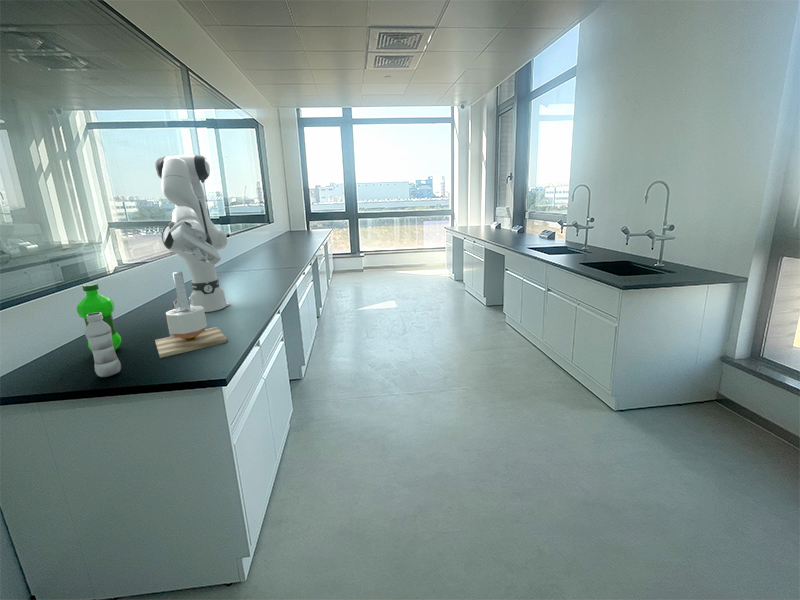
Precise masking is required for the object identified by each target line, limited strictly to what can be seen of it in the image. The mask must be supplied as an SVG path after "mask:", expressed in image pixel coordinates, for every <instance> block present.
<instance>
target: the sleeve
mask: <svg viewBox="0 0 800 600" xmlns="http://www.w3.org/2000/svg"><path fill="white" fill-rule="evenodd" d="M166 317H167V318H166ZM165 318H166V322H167V321H168V324H167V327H168V326H169V329H168V331H169V330H170V333H171V334H186V333H190V332H195V331H199V330H201V329H203V328H204V329H206V327H208V323H207V319H206V312H204V308H203V307H202V306H190V305H189V311H186V312H180V308H175V309H174V308H173V309H170V310H168V311H165Z"/></svg>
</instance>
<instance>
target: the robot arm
mask: <svg viewBox="0 0 800 600" xmlns="http://www.w3.org/2000/svg"><path fill="white" fill-rule="evenodd" d="M154 169H155V172H156V174H157V176H158V178H159V179H160V180H161V191H162V194H163V195H164V197H165V198H166V200H168V201H169V202H170V203H172V204H173V205H175V206H176V207H175V208H174V209H173V211H172V215H171V217H172V218H171V221H170V222H168V224H166V226H165V227H164V228H163V230H162V233H161V240H162V243H163V245H164V247H165V248H166V249H168V250H170V251H171V252H172V253H173V254H175V255H178V257H180V258H181V259H182V260H183V261H184V262H185V263H186V265H187V267H188V270H189V273H190V278H191V288H192V292H191V294H190V296H189V297H188V302H190V305H189V306H202V307H203V308H204V312H205V313H210V312H216V311H220V310H223V309H225V308H226V307H228V306H231V303H230V302H228V301H227V300H226V299H227V298H226V295H225V292H224V289H222V288H221V287H220V281H219V279H218V275H217V269H216V266H215V265H216V264H218V263H219V262H221V260H222V258H221V255H220V254H219V252H218V251H220V250H224V249H225V248H226V247H227V243H228V236H227V234H226V233H225V231H223V229H221V228H219V227H218V226H217V225H215V223H214V222H213V221H212V220H211V218H210V215H209V213H208V207H207V200H206V194H205V189H204V187H203V184H204V183H205V182H206V180H207V179H208V178H209V177H210V172H211V166H210V163H209V161H208V159H207V158H206V157H205V156H204V155H200V154H195V155H193V154H179V155H172V156H161V157H159V158H157V159H156V160H155V162H154Z"/></svg>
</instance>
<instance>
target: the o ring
mask: <svg viewBox="0 0 800 600" xmlns="http://www.w3.org/2000/svg"><path fill="white" fill-rule="evenodd" d="M205 329H206V328H203V329H201V330H199V331H195V332H190V333H186V334H174V336H175V337H190V336H194V335H198V334H200V333H202V332H204V331H205Z"/></svg>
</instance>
